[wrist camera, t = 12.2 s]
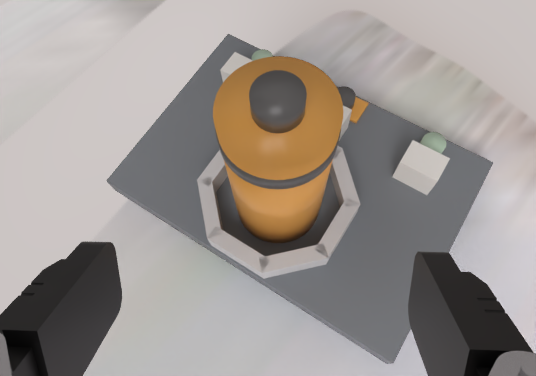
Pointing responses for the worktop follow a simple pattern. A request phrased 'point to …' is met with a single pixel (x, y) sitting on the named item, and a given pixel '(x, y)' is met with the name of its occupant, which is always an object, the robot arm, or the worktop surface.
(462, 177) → the board
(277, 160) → the orange bottle
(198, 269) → the worktop surface
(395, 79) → the worktop surface
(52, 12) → the worktop surface
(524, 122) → the worktop surface
